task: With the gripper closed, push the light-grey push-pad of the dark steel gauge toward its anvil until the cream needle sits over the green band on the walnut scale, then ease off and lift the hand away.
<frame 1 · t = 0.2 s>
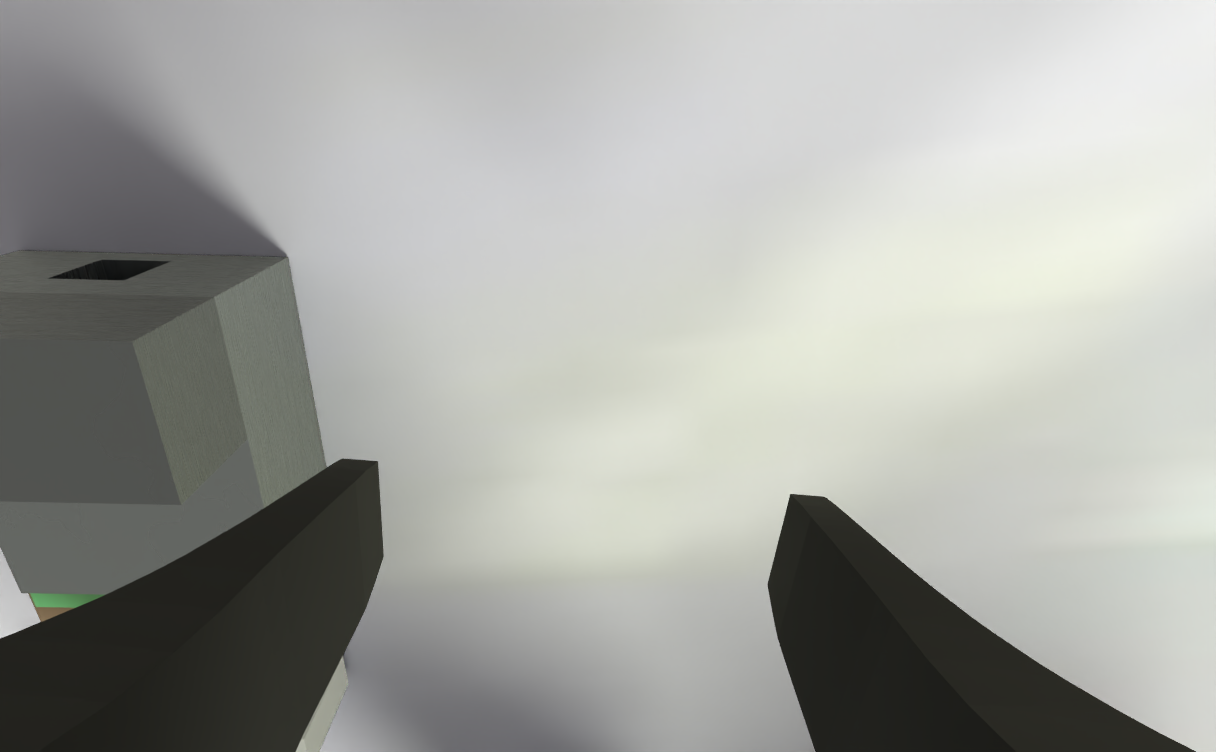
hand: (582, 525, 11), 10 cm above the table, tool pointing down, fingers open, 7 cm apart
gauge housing: (192, 396, 21), on the table
gauge scale: (87, 601, 25), on the table
gauge plunger: (140, 616, 22), point 2 cm above the table, slide at 0.0 cm
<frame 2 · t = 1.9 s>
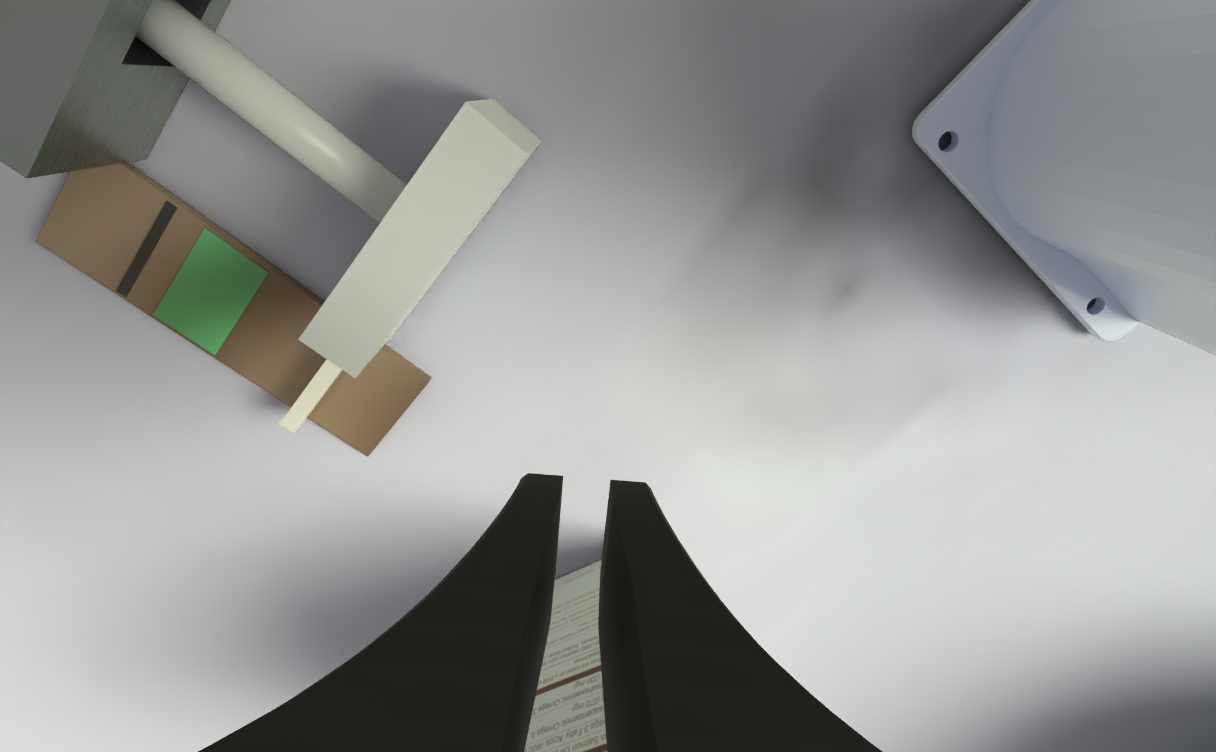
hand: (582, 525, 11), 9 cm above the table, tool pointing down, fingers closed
supplement box: (611, 630, 25), on the table
gauge scale: (246, 311, 20), on the table
gauge plunger: (221, 188, 16), point 2 cm above the table, slide at 0.0 cm
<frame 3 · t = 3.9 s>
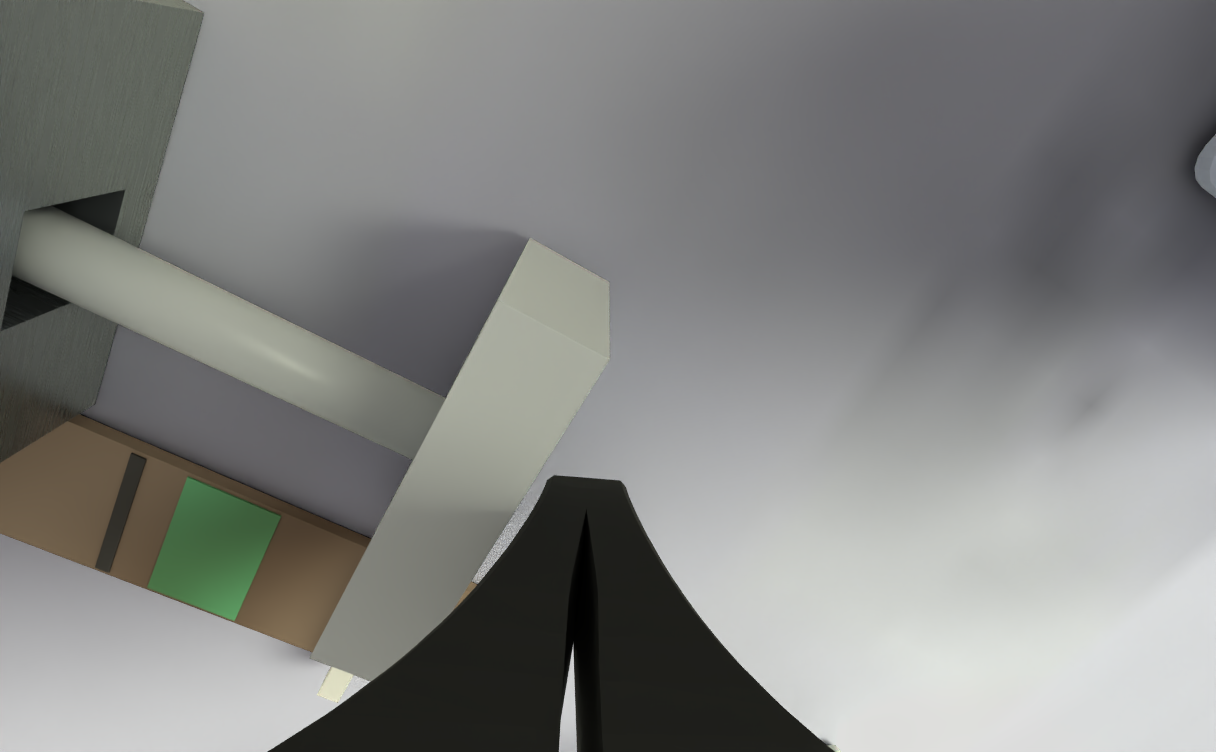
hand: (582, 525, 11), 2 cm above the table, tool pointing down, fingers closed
gauge scale: (263, 560, 15), on the table
gauge plunger: (168, 447, 11), point 2 cm above the table, slide at 0.3 cm, touching gripper
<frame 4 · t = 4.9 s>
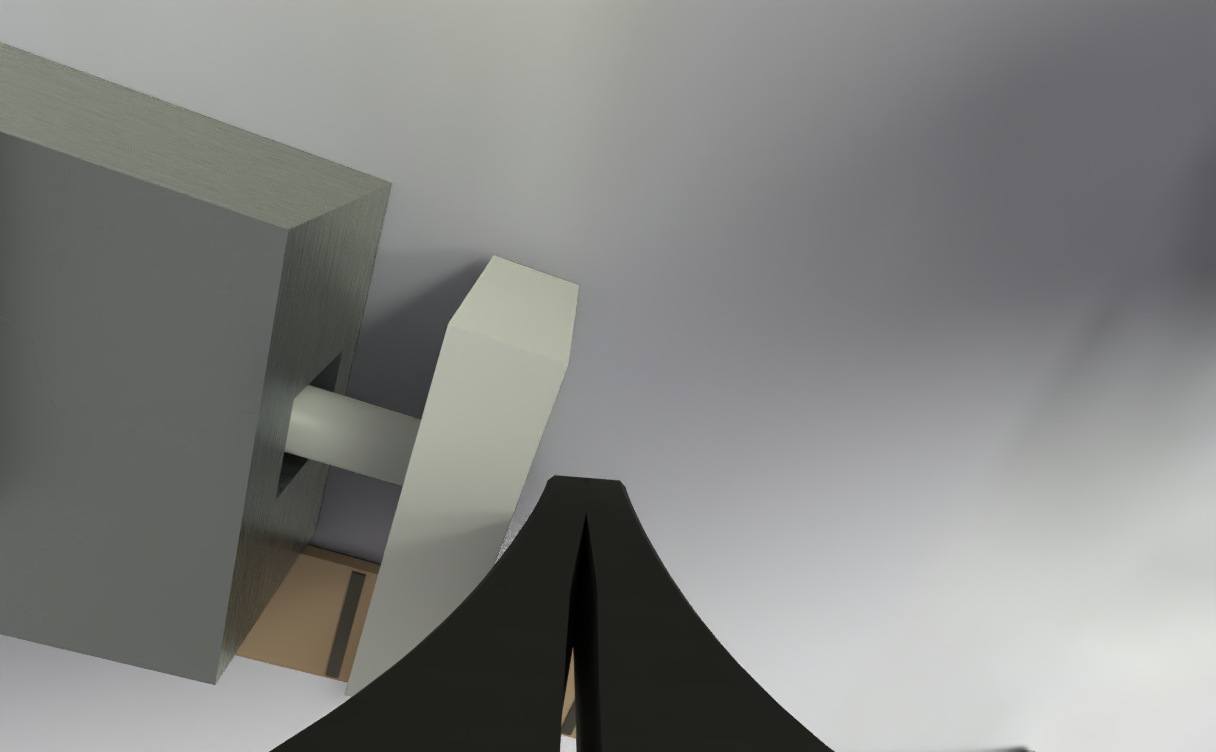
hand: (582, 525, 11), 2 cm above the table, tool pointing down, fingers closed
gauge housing: (94, 299, 12), on the table
gauge scale: (471, 648, 16), on the table
gauge plunger: (186, 512, 11), point 2 cm above the table, slide at 4.3 cm, touching gripper
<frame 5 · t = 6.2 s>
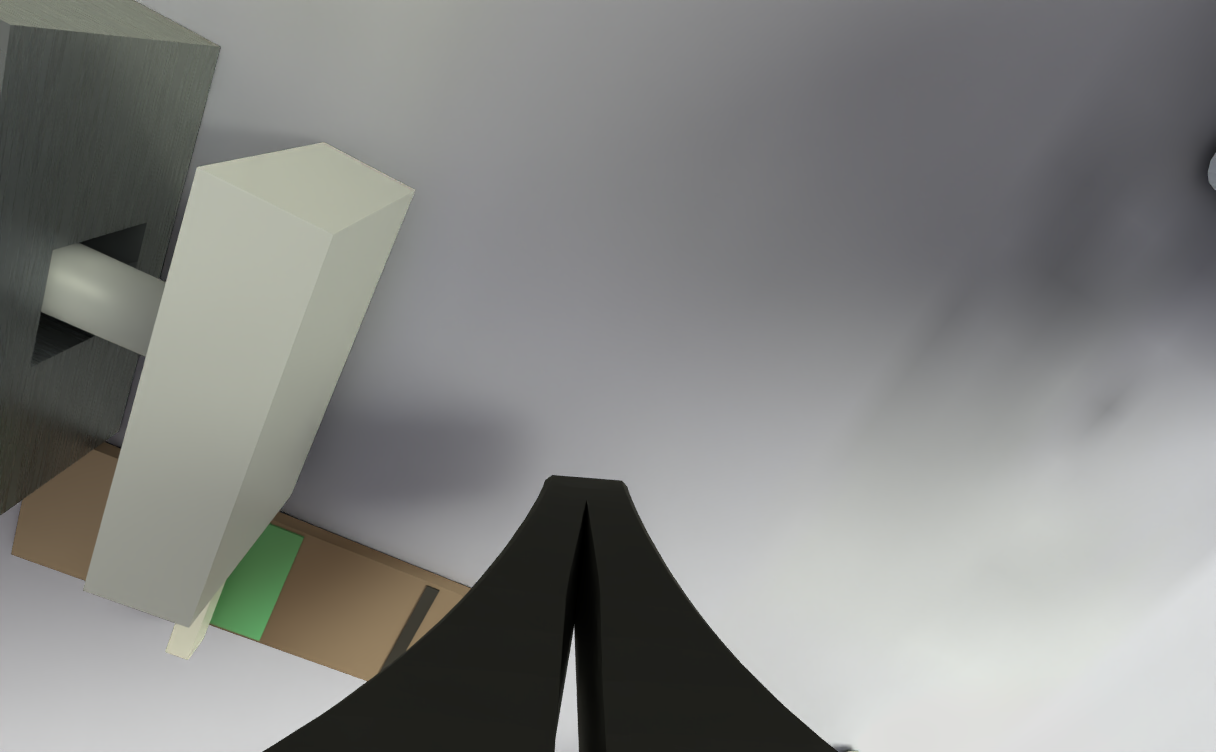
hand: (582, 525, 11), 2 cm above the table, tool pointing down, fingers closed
gauge scale: (287, 581, 15), on the table
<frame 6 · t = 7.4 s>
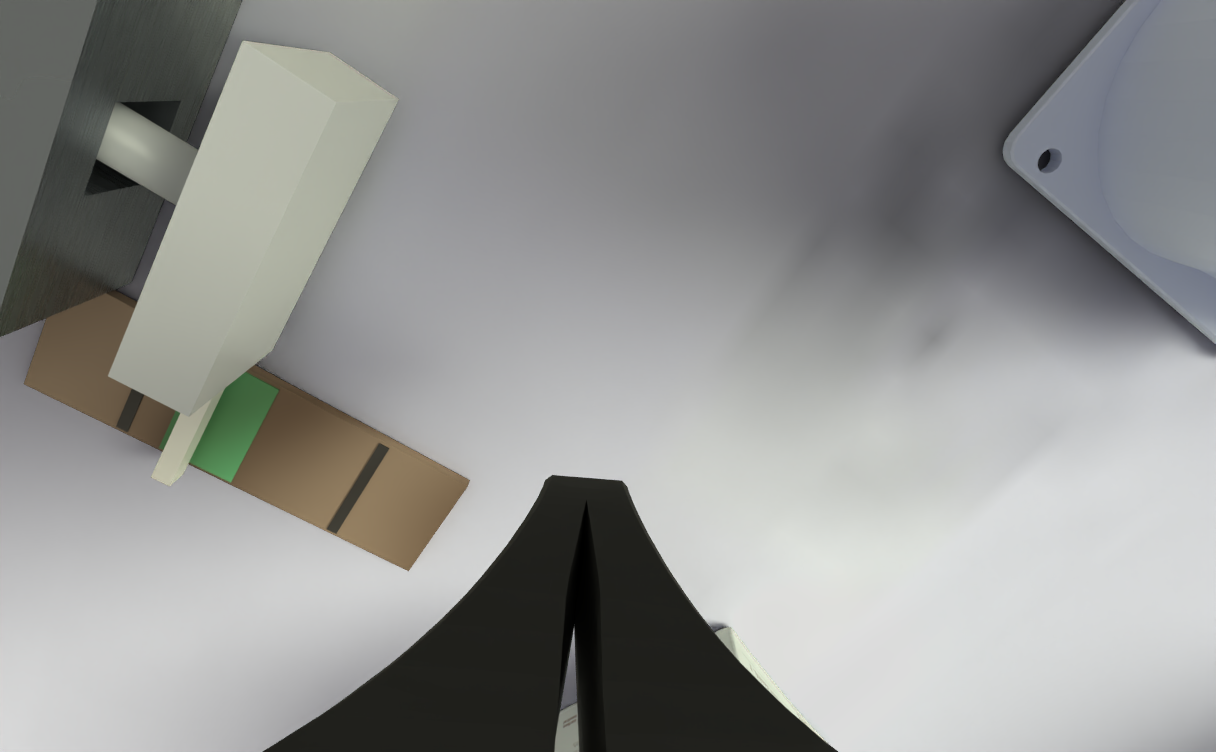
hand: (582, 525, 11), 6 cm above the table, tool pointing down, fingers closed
supplement box: (693, 721, 23), on the table
gauge scale: (260, 431, 18), on the table
gauge plunger: (1, 199, 13), point 2 cm above the table, slide at 4.4 cm
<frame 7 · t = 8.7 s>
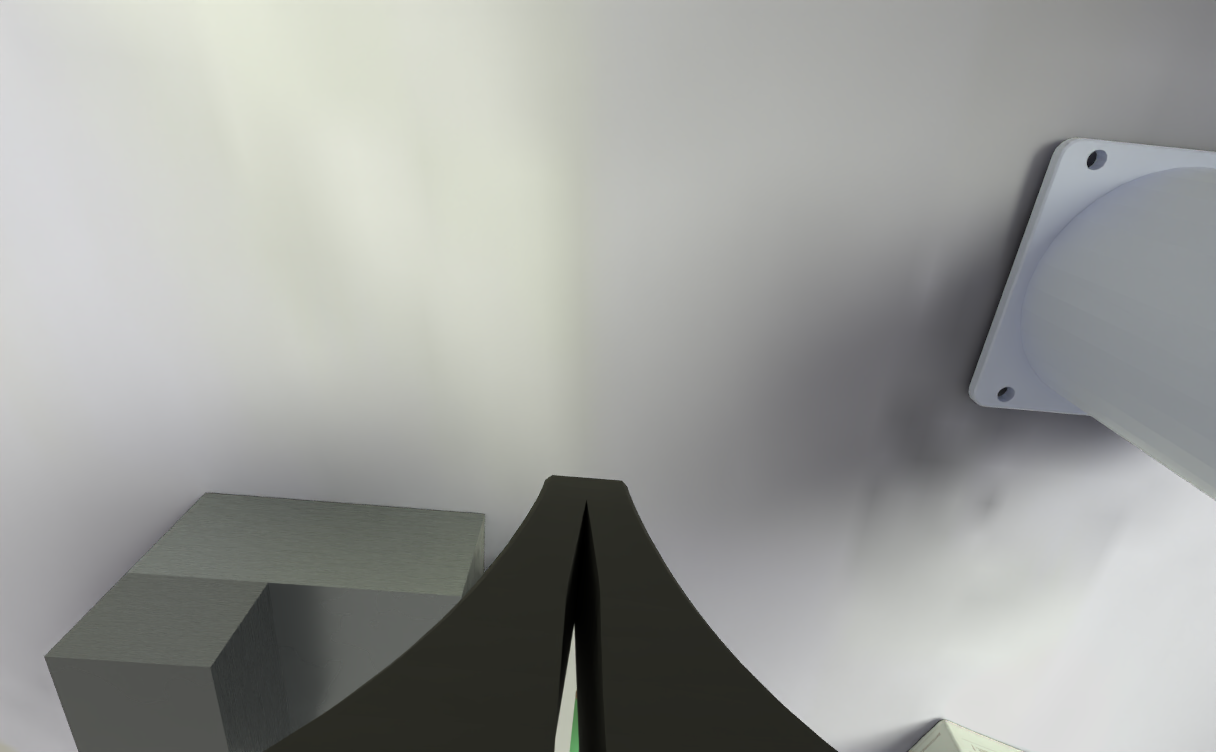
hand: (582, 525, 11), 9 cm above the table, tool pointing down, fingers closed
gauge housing: (354, 592, 24), on the table
gauge scale: (581, 721, 27), on the table
gauge plunger: (425, 691, 23), point 2 cm above the table, slide at 4.4 cm
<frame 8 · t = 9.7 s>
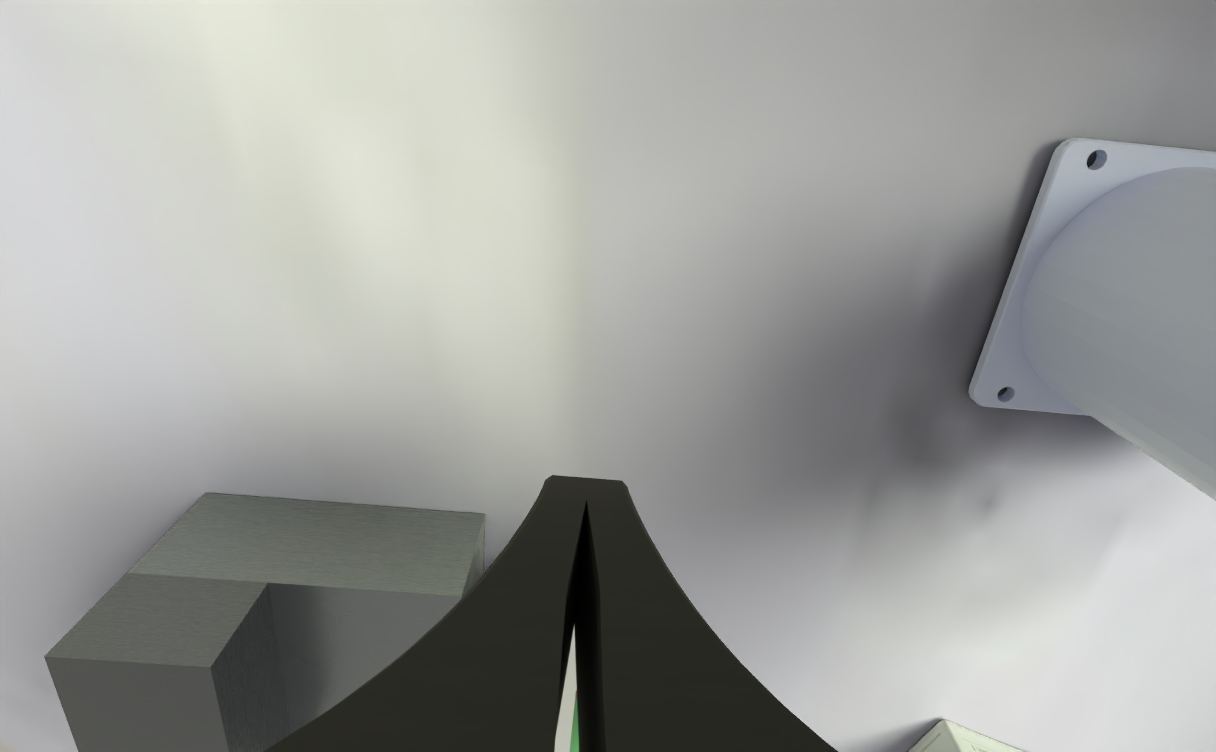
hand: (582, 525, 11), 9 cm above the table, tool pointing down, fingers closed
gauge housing: (354, 592, 24), on the table
gauge scale: (581, 721, 27), on the table
gauge plunger: (425, 691, 23), point 2 cm above the table, slide at 4.4 cm
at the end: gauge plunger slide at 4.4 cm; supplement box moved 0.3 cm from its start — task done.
